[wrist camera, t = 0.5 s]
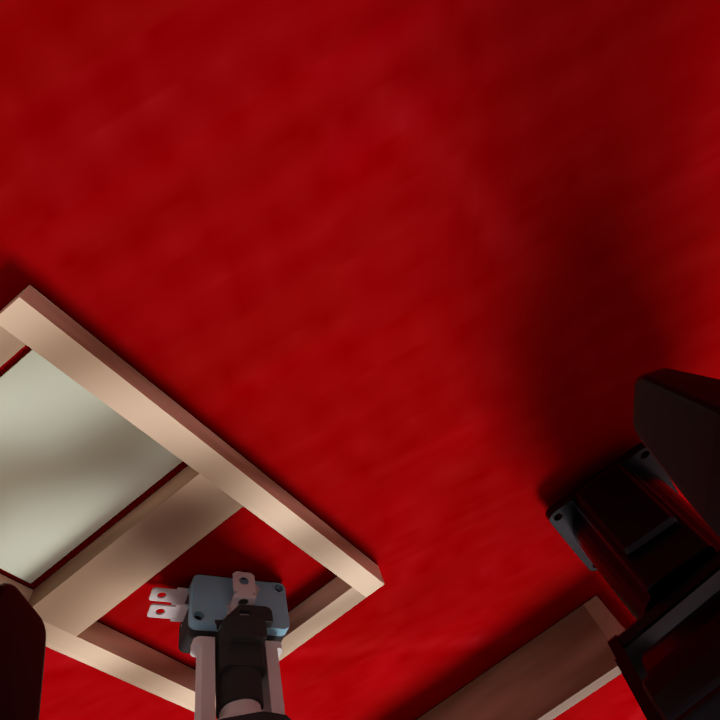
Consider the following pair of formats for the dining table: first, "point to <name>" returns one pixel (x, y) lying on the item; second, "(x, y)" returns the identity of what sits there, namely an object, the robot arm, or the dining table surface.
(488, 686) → the tray rim
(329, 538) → the wooden double frame
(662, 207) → the dining table surface
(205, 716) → the push button
